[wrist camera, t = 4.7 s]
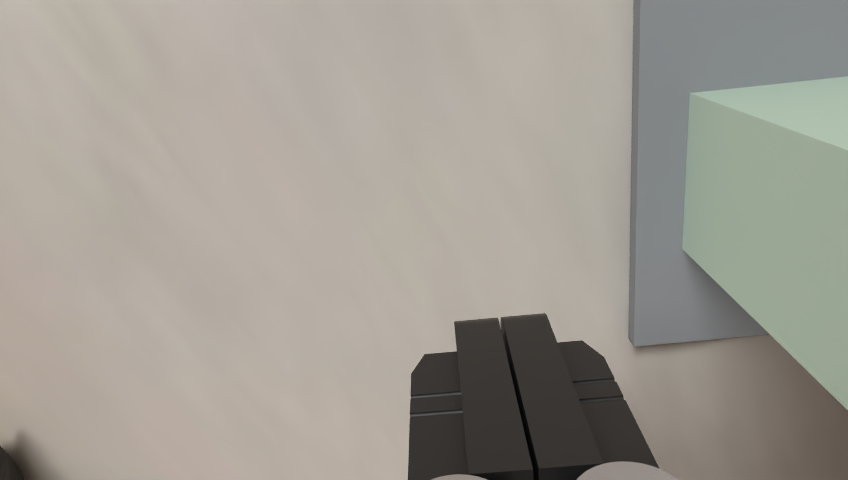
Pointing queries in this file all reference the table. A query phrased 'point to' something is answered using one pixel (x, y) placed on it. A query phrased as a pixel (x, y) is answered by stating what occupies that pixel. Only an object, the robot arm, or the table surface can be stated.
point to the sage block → (776, 212)
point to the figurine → (8, 467)
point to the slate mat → (668, 134)
